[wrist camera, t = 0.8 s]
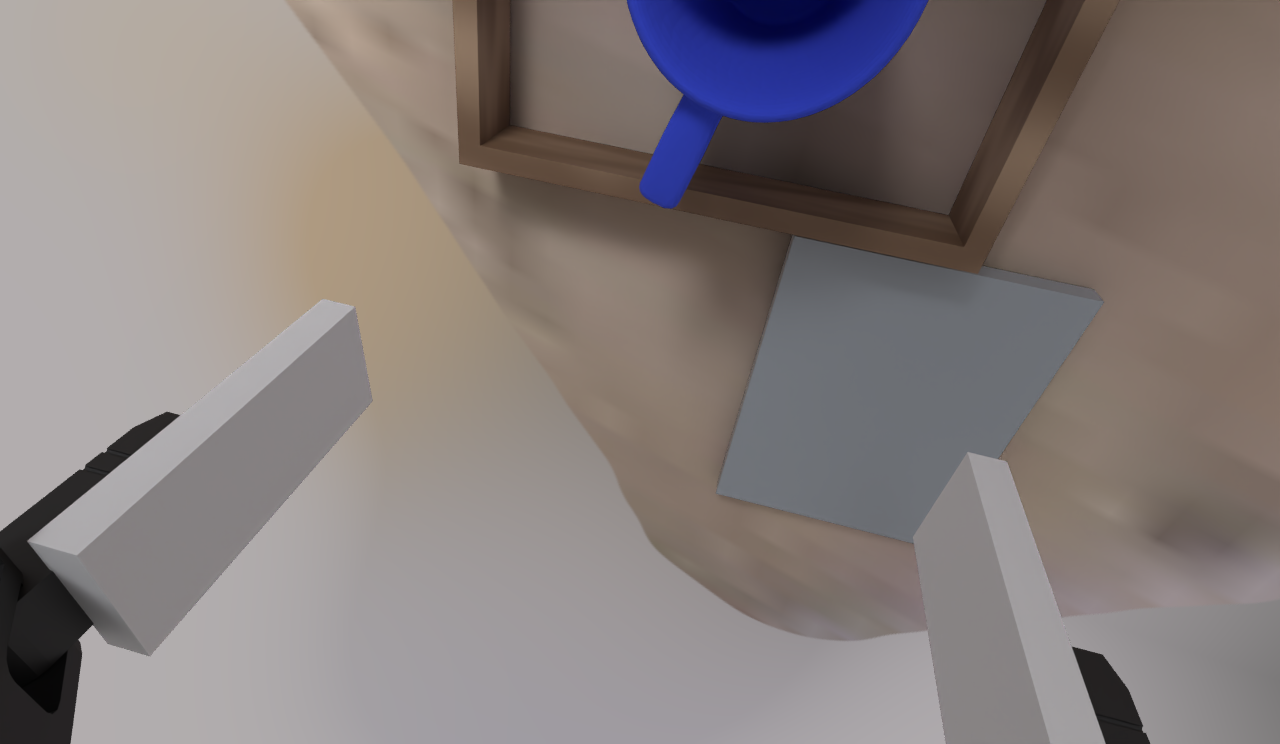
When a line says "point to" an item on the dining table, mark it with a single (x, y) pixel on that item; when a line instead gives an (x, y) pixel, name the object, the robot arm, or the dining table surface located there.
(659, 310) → the dining table surface
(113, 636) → the robot arm
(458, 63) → the crate
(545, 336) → the dining table surface
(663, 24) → the mug
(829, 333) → the board
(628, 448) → the dining table surface
